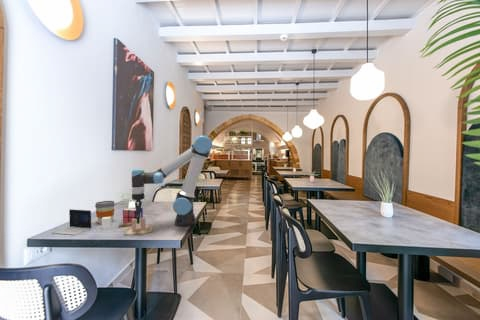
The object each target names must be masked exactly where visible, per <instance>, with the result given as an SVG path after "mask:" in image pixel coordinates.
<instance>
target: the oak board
mask: <svg viewBox="0 0 480 320" xmlns="http://www.w3.org/2000/svg"><path fill="white" fill-rule="evenodd" d="M152 233H153V226H152V225H151V224H150V225H146V230H140V231H132V226H130V227H125V231H124V235H123V236H124V237H126V236H137V235H145V234H152Z"/></svg>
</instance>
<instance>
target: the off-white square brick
mask: <svg viewBox="0 0 480 320" xmlns="http://www.w3.org/2000/svg"><path fill="white" fill-rule="evenodd" d="M109 228H110V229H111V228H112V222H111V217H103V218H102V224H101V229H102V230H107V229H109Z"/></svg>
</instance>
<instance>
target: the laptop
mask: <svg viewBox="0 0 480 320" xmlns="http://www.w3.org/2000/svg"><path fill="white" fill-rule="evenodd" d="M68 215H69V227H66V228H62V229H59V230H56V231H53V232H52V234H57V235H58V234H59V235H67V236H68V235H70V236H76V235H79V234H82V233H85V232H88V231H91V230H92V210H89V209H88V210H87V209H71V208H69V214H68Z"/></svg>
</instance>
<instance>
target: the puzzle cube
mask: <svg viewBox="0 0 480 320" xmlns="http://www.w3.org/2000/svg"><path fill="white" fill-rule="evenodd" d="M143 210H144V209H143V207H141V211H142V213H141V218H144V215H143V213H144V212H143ZM135 217H136V209H135V206H134V207H133V206H132V207H131V206H130V207H128V208H125V209H123V210H122V223H129V222H132V219H133V218H135Z"/></svg>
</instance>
